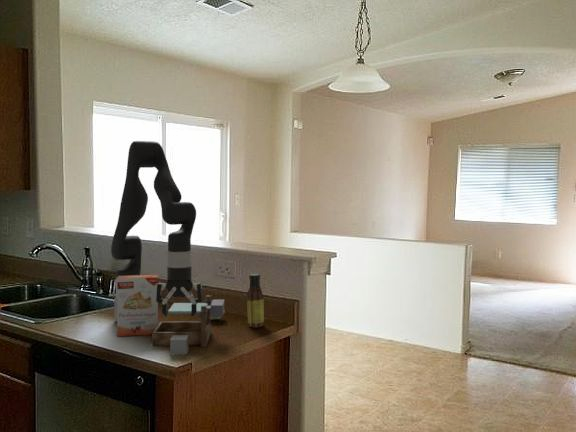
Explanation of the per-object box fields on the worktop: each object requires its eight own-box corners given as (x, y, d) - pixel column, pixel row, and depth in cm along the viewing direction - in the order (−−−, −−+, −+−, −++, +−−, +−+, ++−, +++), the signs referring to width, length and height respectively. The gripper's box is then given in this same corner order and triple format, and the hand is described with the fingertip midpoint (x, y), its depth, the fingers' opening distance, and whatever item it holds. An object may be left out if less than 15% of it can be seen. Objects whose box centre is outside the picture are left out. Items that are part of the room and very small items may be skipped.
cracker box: (117, 337, 183) (116, 278, 182) (117, 332, 189) (117, 275, 188) (158, 334, 187) (158, 276, 186) (157, 330, 193) (157, 273, 192)
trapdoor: (168, 318, 175) (168, 306, 175) (174, 309, 187) (174, 298, 187) (222, 318, 176) (222, 306, 176) (224, 309, 188) (224, 298, 188)
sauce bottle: (266, 325, 202) (267, 273, 201) (259, 329, 196) (259, 276, 195) (251, 323, 205) (252, 272, 203) (243, 326, 199) (244, 275, 198)
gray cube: (170, 355, 166) (170, 339, 165) (172, 350, 171) (172, 335, 170) (186, 355, 166) (186, 339, 166) (188, 350, 171) (188, 335, 170)
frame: (151, 347, 173) (151, 306, 172) (161, 332, 190) (161, 295, 190) (206, 347, 174) (206, 306, 173) (211, 332, 191) (211, 295, 191)
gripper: (154, 266, 162) (154, 318, 163) (200, 266, 163) (200, 318, 164) (159, 263, 170) (159, 312, 171) (203, 263, 171) (203, 312, 171)
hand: (179, 315), depth 167 cm, fingers open, 8 cm apart
